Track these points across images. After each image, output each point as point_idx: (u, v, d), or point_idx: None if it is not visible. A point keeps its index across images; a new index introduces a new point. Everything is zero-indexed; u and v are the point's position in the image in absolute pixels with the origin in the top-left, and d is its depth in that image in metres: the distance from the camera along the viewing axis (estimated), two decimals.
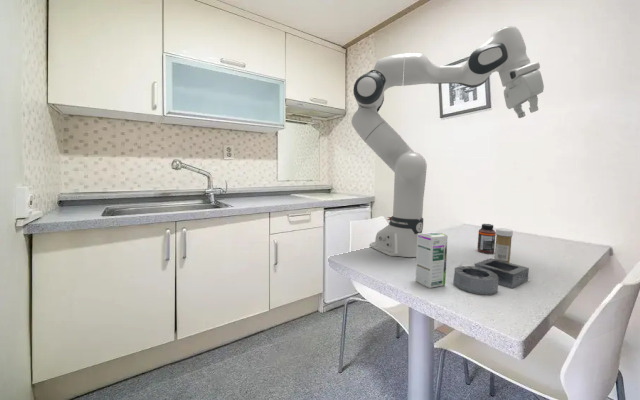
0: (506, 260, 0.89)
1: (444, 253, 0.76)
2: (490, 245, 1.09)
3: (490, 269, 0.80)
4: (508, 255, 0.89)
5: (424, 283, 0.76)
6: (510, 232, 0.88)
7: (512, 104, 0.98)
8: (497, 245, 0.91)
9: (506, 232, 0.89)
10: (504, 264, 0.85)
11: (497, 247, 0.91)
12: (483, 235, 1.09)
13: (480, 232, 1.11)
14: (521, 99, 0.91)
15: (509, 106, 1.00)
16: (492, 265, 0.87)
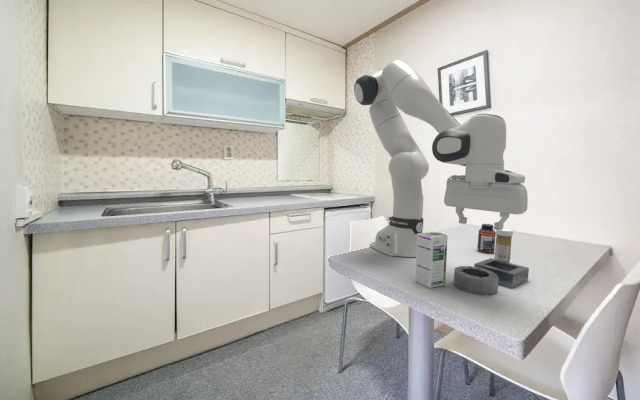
0: (506, 260, 0.89)
1: (444, 253, 0.76)
2: (490, 245, 1.09)
3: (490, 269, 0.80)
4: (508, 255, 0.89)
5: (424, 283, 0.76)
6: (510, 232, 0.88)
7: (461, 205, 0.77)
8: (497, 245, 0.91)
9: (506, 232, 0.89)
10: (504, 264, 0.85)
11: (497, 247, 0.91)
12: (483, 235, 1.09)
13: (480, 232, 1.11)
14: (489, 208, 0.71)
15: (452, 204, 0.79)
16: (492, 265, 0.87)
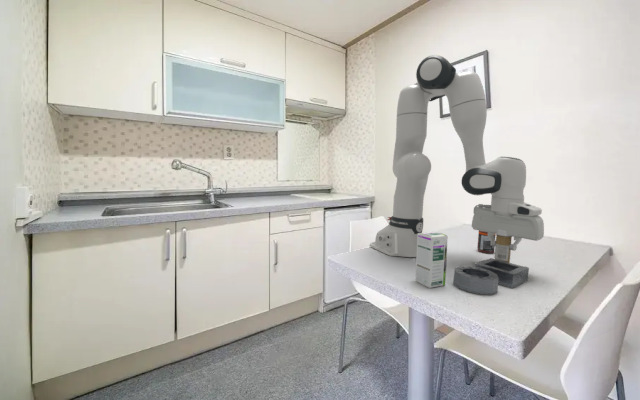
0: (506, 260, 0.89)
1: (444, 253, 0.76)
2: (490, 245, 1.09)
3: (490, 269, 0.80)
4: (508, 255, 0.89)
5: (424, 283, 0.76)
6: None
7: (487, 229, 0.93)
8: (497, 245, 0.91)
9: None
10: (504, 264, 0.85)
11: (497, 247, 0.91)
12: (483, 235, 1.09)
13: (480, 232, 1.11)
14: (512, 234, 0.87)
15: (478, 228, 0.96)
16: (492, 265, 0.87)
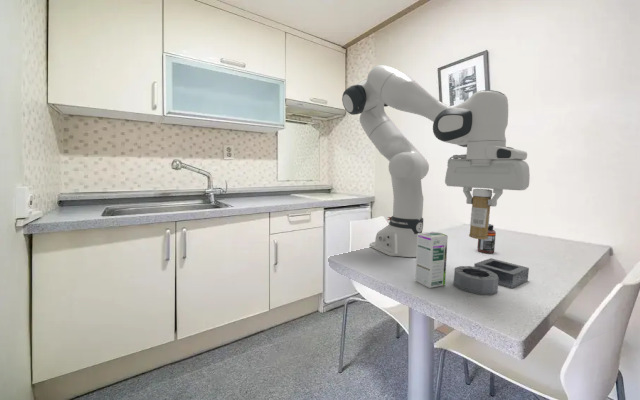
0: (483, 226, 0.73)
1: (444, 253, 0.76)
2: (490, 245, 1.09)
3: (490, 269, 0.80)
4: (486, 220, 0.73)
5: (424, 283, 0.76)
6: (488, 191, 0.72)
7: (462, 184, 0.77)
8: (473, 208, 0.74)
9: (484, 191, 0.72)
10: (504, 264, 0.85)
11: (473, 211, 0.74)
12: None
13: None
14: (491, 186, 0.70)
15: (453, 183, 0.79)
16: (492, 265, 0.87)
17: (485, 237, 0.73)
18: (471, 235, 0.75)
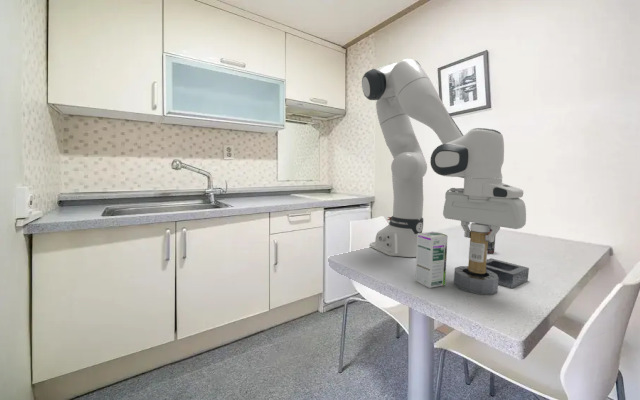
0: (481, 261, 0.74)
1: (444, 253, 0.76)
2: (490, 245, 1.09)
3: (490, 269, 0.80)
4: (484, 255, 0.74)
5: (424, 283, 0.76)
6: (486, 227, 0.73)
7: (460, 218, 0.77)
8: (471, 243, 0.75)
9: (481, 227, 0.73)
10: (504, 264, 0.85)
11: (471, 246, 0.75)
12: None
13: None
14: (488, 222, 0.71)
15: (451, 217, 0.80)
16: (492, 265, 0.87)
17: (483, 272, 0.74)
18: (469, 269, 0.76)
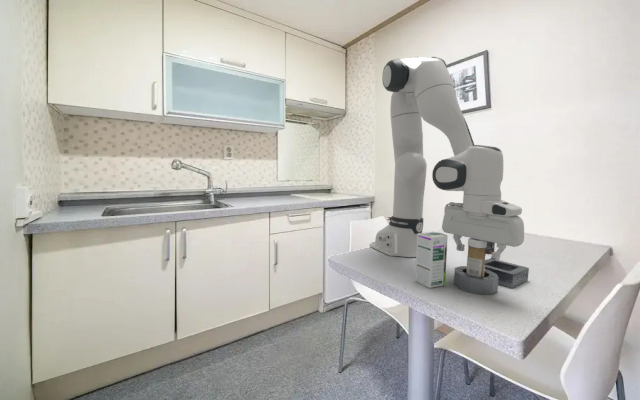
0: (479, 276, 0.74)
1: (444, 253, 0.76)
2: (490, 245, 1.09)
3: (490, 269, 0.80)
4: (481, 270, 0.74)
5: (424, 283, 0.76)
6: (483, 243, 0.73)
7: (459, 233, 0.78)
8: (469, 258, 0.76)
9: (478, 243, 0.74)
10: (504, 264, 0.85)
11: (468, 261, 0.76)
12: None
13: None
14: (486, 239, 0.72)
15: (449, 231, 0.80)
16: (492, 265, 0.87)
17: None
18: None
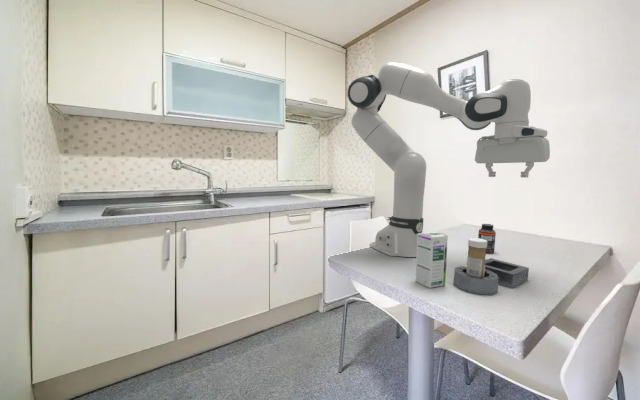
0: (479, 276, 0.74)
1: (444, 253, 0.76)
2: (490, 245, 1.09)
3: (490, 269, 0.80)
4: (481, 271, 0.74)
5: (424, 283, 0.76)
6: (483, 243, 0.73)
7: (491, 160, 0.91)
8: (469, 258, 0.76)
9: (479, 243, 0.74)
10: (504, 264, 0.85)
11: (468, 261, 0.76)
12: (483, 235, 1.09)
13: (480, 232, 1.11)
14: (516, 160, 0.84)
15: (482, 160, 0.93)
16: (492, 265, 0.87)
17: None
18: None
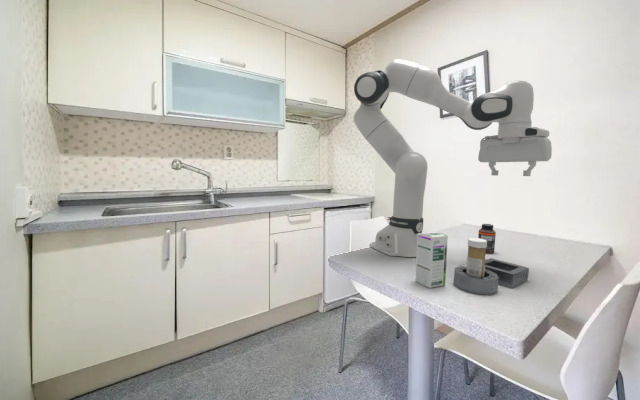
0: (479, 276, 0.74)
1: (444, 253, 0.76)
2: (490, 245, 1.09)
3: (490, 269, 0.80)
4: (481, 271, 0.74)
5: (424, 283, 0.76)
6: (483, 243, 0.73)
7: (494, 159, 0.93)
8: (469, 258, 0.76)
9: (478, 243, 0.73)
10: (504, 264, 0.85)
11: (468, 261, 0.76)
12: (483, 235, 1.09)
13: (480, 232, 1.11)
14: (519, 159, 0.87)
15: (485, 159, 0.96)
16: (492, 265, 0.87)
17: None
18: None
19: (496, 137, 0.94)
